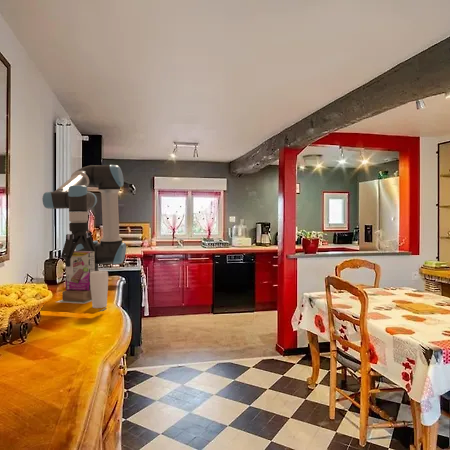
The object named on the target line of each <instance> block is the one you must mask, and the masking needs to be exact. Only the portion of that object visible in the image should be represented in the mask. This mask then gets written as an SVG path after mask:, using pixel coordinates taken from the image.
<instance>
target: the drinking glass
mask: <svg viewBox="0 0 450 450" xmlns="http://www.w3.org/2000/svg"><path fill="white" fill-rule="evenodd" d="M90 288H91V297H92V301H91V305H92V306H91V307H92V309H93V308H94V309H101V310H99V312H104V311H107V309H108V307H107V306H108V293H109V292H108V291H109V272H108V270H99V271H93V272H90ZM102 308H103V309H102Z"/></svg>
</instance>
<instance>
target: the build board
mask: <svg viewBox="0 0 450 450" xmlns="http://www.w3.org/2000/svg"><path fill="white" fill-rule="evenodd" d="M90 302H91V303H92V299H90V300H88V301H85V302H74V301H63V299H60V300H58V301H56V303H66V304H67V303H68V304H81V305H82V304H88V303H90Z"/></svg>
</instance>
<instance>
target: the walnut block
mask: <svg viewBox="0 0 450 450" xmlns="http://www.w3.org/2000/svg"><path fill="white" fill-rule="evenodd" d="M61 294H62V300H63V301H74V302H85V301H88V300H90V299H92V297H91V291H77V290H66V289H65V290H63V291H62V293H61Z"/></svg>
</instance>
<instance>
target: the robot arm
mask: <svg viewBox="0 0 450 450" xmlns="http://www.w3.org/2000/svg"><path fill="white" fill-rule="evenodd" d="M124 182H125V180H124V175H123V171H122V168H121V167H120V166H119V165H117V164H101V165H99V164H98V165H97V164H96V165H94V164H90V165H87V166H83V167H81V168H78V169H77V170H75V171H74V172H73V173H72V174H71V176H70V178H68V180H66V181H65V182H64V183H62V184H61V185H60V186H59V187H58V188H57V189H56V190H54V191H46V192H44V193H43V195H42V204H43V207H44V208H46V209H53V210H56V209H58V210H61V209H68V220H69V223H68V225H69V232H71V234H70V233H67V234H65V241H64V244H63V247H62V248H63V249H62V252H61V255H60V258H62V259H63V260H64V263H65V264H64V265H65V266H66V268H65V275H66V274H68V275H72V274H73V259H71V257H72V255H73V253H74V251H94V252H95V271H100V269H99V265H118V264H122V263H123V262H124V261H125V257H126V253H127V245H126V243H125V242H123V238H121V237H120V217H119V216H120V215H119V192H120V191H121V187H123V186H124V184H125V183H124ZM88 188H98V189H97V190H98V192H99V193H101V195H100V196H101V212H102V214H101V217H102V238H101V239H100V240H99V241H100V242H98V240H93V238H92V232H87V231H89V223H88V221H89V209H92V208H94V207H95V206H96V204H97V203H98V198H97V195H96V194H95V193H93V192H91V191H88Z"/></svg>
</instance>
